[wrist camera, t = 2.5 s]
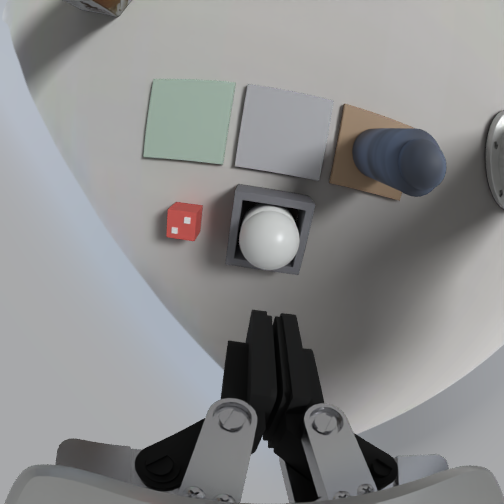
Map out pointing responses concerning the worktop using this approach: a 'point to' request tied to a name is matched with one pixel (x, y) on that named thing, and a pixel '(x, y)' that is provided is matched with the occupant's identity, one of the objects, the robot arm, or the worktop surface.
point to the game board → (256, 148)
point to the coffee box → (101, 6)
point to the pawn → (400, 159)
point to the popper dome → (268, 236)
